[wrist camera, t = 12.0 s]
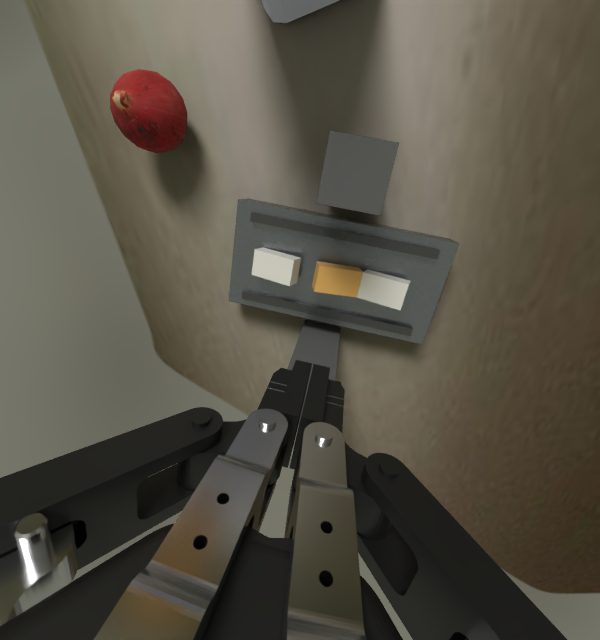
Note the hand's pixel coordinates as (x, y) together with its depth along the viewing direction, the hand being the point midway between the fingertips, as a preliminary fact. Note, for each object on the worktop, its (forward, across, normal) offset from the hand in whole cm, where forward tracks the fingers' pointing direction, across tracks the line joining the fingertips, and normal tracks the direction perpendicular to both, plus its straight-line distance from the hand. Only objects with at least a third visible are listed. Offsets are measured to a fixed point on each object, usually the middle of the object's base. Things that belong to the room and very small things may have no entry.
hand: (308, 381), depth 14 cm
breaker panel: (+22, 0, 0) cm, 22 cm away
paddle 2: (+19, -5, 0) cm, 19 cm away
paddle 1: (+18, +5, 0) cm, 19 cm away
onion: (+22, +18, -10) cm, 30 cm away
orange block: (+18, 0, 0) cm, 19 cm away
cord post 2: (+22, 0, -8) cm, 23 cm away
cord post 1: (+22, 0, +9) cm, 23 cm away
